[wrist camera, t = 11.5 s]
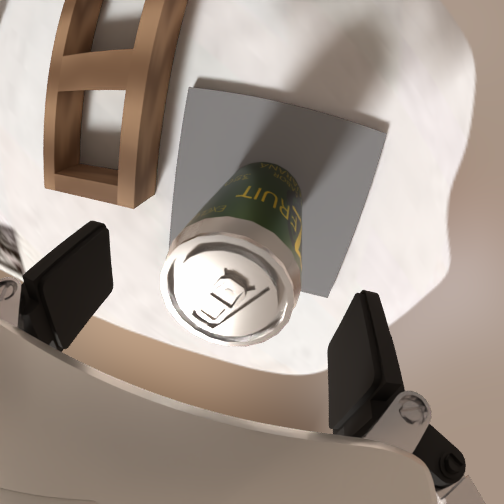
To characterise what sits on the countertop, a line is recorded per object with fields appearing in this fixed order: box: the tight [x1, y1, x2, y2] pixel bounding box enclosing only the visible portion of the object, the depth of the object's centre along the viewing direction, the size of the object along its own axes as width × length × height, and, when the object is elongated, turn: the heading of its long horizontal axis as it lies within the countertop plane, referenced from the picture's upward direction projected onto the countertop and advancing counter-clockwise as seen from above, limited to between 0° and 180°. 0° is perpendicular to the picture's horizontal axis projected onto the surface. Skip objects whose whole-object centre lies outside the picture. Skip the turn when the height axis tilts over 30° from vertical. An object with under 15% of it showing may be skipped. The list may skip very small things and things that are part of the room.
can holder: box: [43, 0, 188, 209], centre depth 17 cm, size 20×10×4 cm, turn 169°
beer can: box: [161, 162, 302, 346], centre depth 15 cm, size 5×5×12 cm
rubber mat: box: [169, 87, 386, 298], centre depth 21 cm, size 14×14×1 cm
